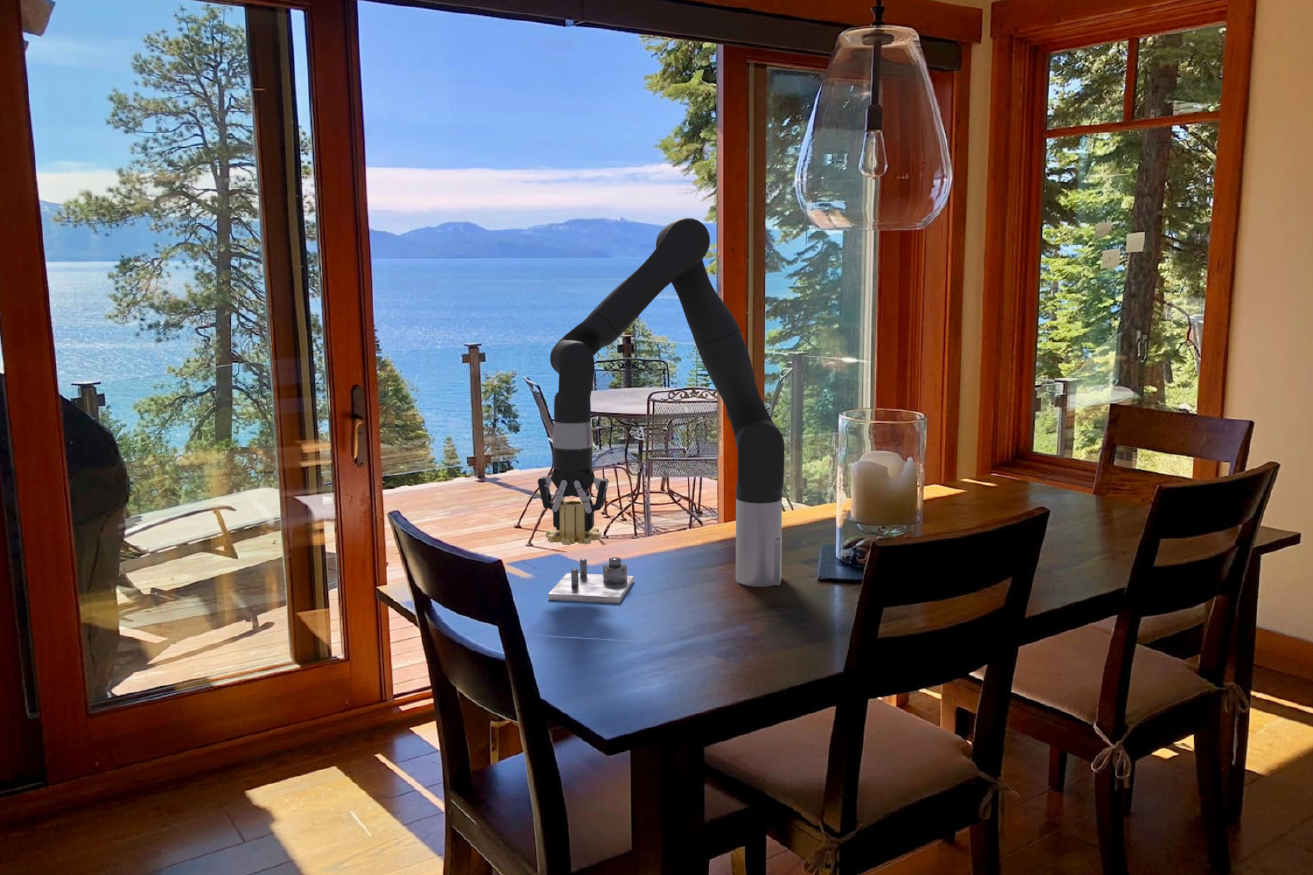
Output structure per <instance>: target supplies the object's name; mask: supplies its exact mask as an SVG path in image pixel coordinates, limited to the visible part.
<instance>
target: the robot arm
mask: <svg viewBox="0 0 1313 875" xmlns="http://www.w3.org/2000/svg"><path fill="white" fill-rule="evenodd" d="M710 244H711V237H710V233H709V230H708V229H707V227H706V226H705V225H704V223H702V222H701V221H700V220H699V219H695V218H693V217H683V218H679V219H676V220H674V221H672V222H670V223H669V224H667V225H666V226H665V227H663V229H661V230H660V232H659V233H658V235H657V237H656V242H655V249H654V250H653V252H652V253H651V254H650V256H649V257H648V258H647V259H646V260H645V261H644V262H643V263H642V264H641V265H640V266H639V267H638V268H637V269H636V270H635V271H634V272H633V273H632V274H631V275H630V276H628V277H627V278H626V279H625V280H623V281H622V282H621V283H620V284H619V285H618V286H616V287H615V288H614V289H613V290H612V291H611V292H610V293H609V294H608V295H607V296H606V297H605V298H603V300H602V301H601V302H600V303H598V304H597V306H595V308H593V310H592V311H591V312H590V313H589V314H588V315H587V317H586V318H585V319H584V320H583V321H581V322H580V323H579V324H577V325H576V326H575V327H573V328H572V329H571V330H570V331H568V332H567V333H566V334H565V335H564V336H562V337H561V338H560V339H559V340H558V341H557V343H555V345H554V346H553V348H552V349H551V352H550V355H549V356H550V357H549V363H550V365H551V367H552V369H553V370H554V371H555V373H557V374H558V392H556V393H555V395H554V401H553V428H552V445H553V446H552V451H553V452H552V455H553V456H552V458H553V460H552V461H553V462H552V464H553V468H552V469H553V472H552V474H551V475H549V476H545V475H543V476H541V477H540V478H538V480H537V485H538V489H539V494H540V498H541V502H542V507H543V508H544V509H548V510H551V511H552V525H553V527H554V528H555V530H558V531H559V530H560V514H559V504H561V502H563V501H565V500H566V498H567V497H575V498H579V500H581V502H582V503H583V505H584V508H585V510H586V513H585V531H586V532H589V531H590V530H591V529H592V528H594V526H595V512H598V511H600V510H601V509H602V508H603V507H604V505H605V500H606V496H607V490H608V486H609V483H610V482H609V480H608V478H600V477H595V474H594V472H593V430H592V418H591V417H592V416H591V414H592V413H591V412H592V409H591V408H592V406H591V396H592V391H593V385H594V379H595V378H594V377H595V369H596V367H595V355H596V354H598V352H599V351H601V349H603V348H605V347H608V346H610V345H612V344H613V343H615V341H617V339H618V338H619V337H620V336H622V335H623V333H624V332H625V331H626V330H627V329H628V328H629V327H630V326H631V325H632V324H633V323H634V321H635V320H636V319H637V318H638V317H639V316H640V315H641V314H642V313H643V312H644V311H645V309H647V307H648V306H649V305H650V304H651V303H652V302H653V300H655V298H656V297H658V295H659V294H660V293H661V292H663V290H664V289H665V288H667V287H668V286H669V285H670V284H672V286H673V289H674V291H675V292H676V295H677V297H678V300H679V301H680V304H681V307H682V310H683V313H684V316H685V319H686V323H687V324H688V326H689V330H690V332H691V334H692V338H693V340H694V344H695V346H696V348H697V351H698V354H699V356H700V359H701V361H702V363H703V365H704V369H705V370H706V372H707V374H708V376H709V378H710V380H711V382H712V383H713V385H714V387H715V390H716V391H717V392H718V394H719V396H720V398H721V400H722V402H723V404H724V406H725V409H726V411H727V415H728V418H729V421H730V422H729V423H730V424H731V428H732V431H733V435H734V440H735V446H736V449H737V467H736V468H737V471H736V472H737V478H736V488H735V490H736V491H735V492H736V493H735V494H736V496H735V498H736V499H735V581H736V582H737V583H738V584H740V585H743V586H748V587H753V588H754V587H757V588H759V587H760V588H764V587H773V586H781V583H782V568H783V567H782V564H783V563H782V559H783V558H782V557H783V556H782V555H783V554H782V552H783V533H782V528H783V526H782V525H783V524H782V521H783V520H782V518H783V517H782V516H783V514H782V511H783V489H784V480H785V478H784V477H785V439H784V436H783V434H782V432H781V431H780V429H779V428H778V427H777V425H776V423H775V422H774V421H773V419H772V417H771V415H770V414H769V411H768V409H767V407H766V405H765V404H764V401H763V400H762V397H761V395H760V392H759V390H758V386H757V384H756V378H755V373H754V368H753V364H752V360H751V356H750V353H749V351H748V350H749V349H748V348H747V344H746V342H745V340H744V336H743V335H742V332H741V329H740V327H739V325H738V323H737V320H736V319H735V317H734V315H733V313H732V312H731V311H730V310H729V308H728V306H727V305H726V304H725V303H724V301H723V300H722V298H721V297H720V296H719V294H718V293H717V292H716V290H715V288H714V286H713V285H712V282H711V280H710V278H709V275H708V272H707V270H706V266H705V263H704V261H703V259H704V258H705V257H706V256H707V254H708V252H709V249H710ZM552 483H553V485H554V486H555V488H556V489H557V493H556V496H555V498H554V501H553V499H552V493H551V490H550V487H551V486H552ZM593 484H594V485H595V489H596V490H597V494H596V498H595V503H594V501H593V500H592V499H593V498H592V495H591V493H590V490H589V489H590V488H591V487H592V485H593Z"/></svg>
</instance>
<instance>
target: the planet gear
mask: <svg viewBox="0 0 1313 875" xmlns="http://www.w3.org/2000/svg"><path fill="white" fill-rule="evenodd" d="M585 513H586V510H585V508H584V505H583V503H582V502H581V500H580V499H568V500H564V501H563V502H561V504H559V514H560V530H559V531H558V530H556V528H555V529H547V530H546V532H545V536H546V539H547V542H548V543H550V544H551V543H553V544H554V543H557V544H558V543H560V544H562V545H563V546H571V545H575V544H576V543H577V544H578V545H581V544H583V545H591V544H592V542H593V541H594V542H595V541H600V540H602V532H600V529H599V528H597V527H593V528H592V529H591V530H590V531H589V532H586V531H585Z"/></svg>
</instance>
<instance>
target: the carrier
mask: <svg viewBox="0 0 1313 875" xmlns="http://www.w3.org/2000/svg"><path fill="white" fill-rule="evenodd" d="M634 578H635V576H634V575H628V565H626V564H625V563H622V559H621V557H618V556H617V557H616V556H614V557H609V558H608V563H606V564H604V565H603V566H602V574H601V573H600V574H599V573H598V574H596V573H595V574H594V573H588V559H587V558H581V559H579V569H578V568H570V572H566V573H565V575H563V577H562V578H561V579H560V580H559V581H558V582H557V583H556V584H555V586H554V587H553V588H552V589H551V590H550V591H549V592H548V595H547V596H548V597H547V599H548V601H562V602H563V601H564V602H565V601H566V602H585V603H586V602H587V603H602V604H603V603H605V604H606V603H607V604H621V602H622V601H623V599H624V597H625V596H626V595H627V593H628V591H629V590H630V588H631V587H632V585H633V584H634V582H635V580H634Z"/></svg>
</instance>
